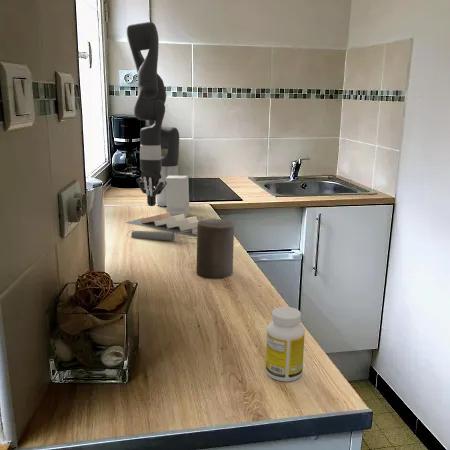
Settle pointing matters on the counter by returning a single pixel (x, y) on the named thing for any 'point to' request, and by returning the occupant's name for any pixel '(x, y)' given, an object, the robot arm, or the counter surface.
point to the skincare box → (177, 195)
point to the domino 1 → (155, 217)
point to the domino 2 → (169, 220)
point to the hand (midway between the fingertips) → (151, 205)
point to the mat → (161, 227)
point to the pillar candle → (215, 248)
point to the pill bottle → (285, 345)
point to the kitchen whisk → (159, 235)
